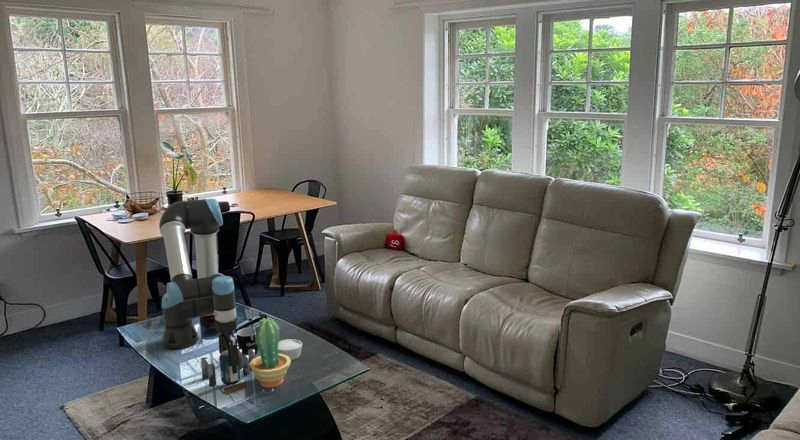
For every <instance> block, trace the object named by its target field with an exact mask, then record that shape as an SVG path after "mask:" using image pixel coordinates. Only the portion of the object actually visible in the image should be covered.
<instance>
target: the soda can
mask: <svg viewBox="0 0 800 440" xmlns="http://www.w3.org/2000/svg"><path fill="white" fill-rule="evenodd" d="M228 365H230V361H229V356H228V351H227V349H225V350H223V351H222V352H221V354H220V355H219V371H220V379H221V381H220V382H222V383H223V385H225V386H231V385H235V384H238V383H240V381H239V380H240V379H241V369H240V366H239V365H237V368H238V380H237V381H233V382H231V380H230V368H229V366H228Z"/></svg>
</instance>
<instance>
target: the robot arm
mask: <svg viewBox="0 0 800 440" xmlns="http://www.w3.org/2000/svg"><path fill="white" fill-rule="evenodd" d="M223 224H224V220H223V216H222V212H221V207H220V204H219V201H218V200H217V199H216V198H202V199H193V200H191V199H190V200H179V201H176V202H173V203H171V204H170V205H169V206H168V207H166V208H165V210H164V211H163V212H162V214H161V216H160V219H159V225H158V227H159V232H160V235H161V236H162V237H163V240H164V248H165V252H166V260H167V265H168V266H167V267H168V271H169V275H170V277H169V278H170V282H167V283H166V293H164V294H163V296H162V298H161V309H162V316H163V323H164V324H163V327H164V328H163V333H162V336H161V345H162V347H163V348H164V349H167V350H182V349H186V348H190V347H192V346H194V345H195V344H198V341H199V335H198V332H197V330H196V328H195V325H194V324H193V323H194V322H193V319H195V318H201V317H206V316H207V317H208V316H214V319H215V321H214V322H215V330H216V332H217V334H218V335H217V336H218V354H220V355H221V352H222V351H223V350H225V349H227V351H228V356H229V361H230V365H228V366H229V368H230V380H231V382H233V381H237V380H238V368H237V365H239V364H240V363H239V355H238V348H239V347H237V345H238V342H237V338H235V334H234V331H235V330H237V328H238V323H237V322H238V321H237V307H236V301H235V300H236V298H235V297H236V296H235V285H234V279H233V278H232V277H231V276H228V275H224V274H223V273H220V272H219V264H218V263H219V262H218V249H217V233H218V232H219V231H220V227H221V226H223ZM186 230H190V233H191V234H192V235H193V236H194V243H195V244H194V245H195V258H196V275H197V278H193V274H192V269H191V264H190V260H189V254H188V250H187V249H188V248H187V243H186V240H185V234H184V233H185V232H186Z"/></svg>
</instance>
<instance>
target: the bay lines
mask: <svg viewBox="0 0 800 440" xmlns="http://www.w3.org/2000/svg"><path fill="white" fill-rule="evenodd" d="M216 388H217V389H218V390H219V392H221V393H222V394H223V395H225V394H224V390H223V389H222V388H221V387H220V386H219V385H218V384H216Z"/></svg>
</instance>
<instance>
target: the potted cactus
mask: <svg viewBox="0 0 800 440" xmlns="http://www.w3.org/2000/svg"><path fill="white" fill-rule="evenodd" d="M253 334H254V335H255V342H256V344H257V346H258V352H259V356H255V358H254V359H253V360H252V361H251V362H250V364H249V365H250V368H251V370H250V371H251V372H252V373H254V375H255V377H256V379H257V380H258V381H259V382H260V383H259V385H260V386H261V385H262V387H264V388H274V387H278V386H279V385H282V384H283V383H284V377H285V375H286V374H287V372H288V369H289V368H290V365H291V363H292V360H290V358H289V356H286V355H283V354H278V343H279V341H280V327H279V326H278V324H277V323H276V322H275V321H274V319H272V318H270V317H266V318H265V317H262V319H260V320H259V321H258V322H254V323H253V324H252V326H251V330H250V337H251V339H252V340H253Z"/></svg>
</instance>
